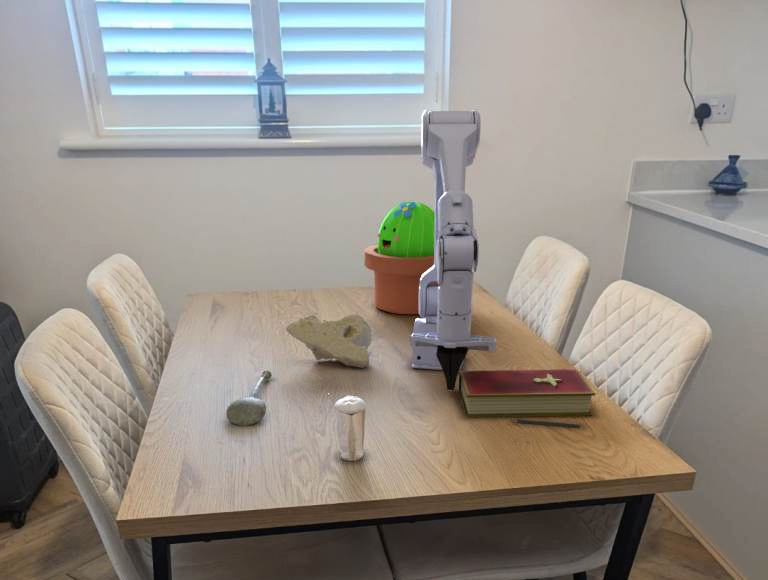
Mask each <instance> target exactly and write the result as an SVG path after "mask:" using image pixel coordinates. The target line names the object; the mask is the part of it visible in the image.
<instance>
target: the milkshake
mask: <svg viewBox="0 0 768 580" xmlns="http://www.w3.org/2000/svg"><path fill="white" fill-rule="evenodd" d="M327 396H328V398H329V399H330V401H331V403H332V405H333V406H334V413H335V420H336V427H337V436H338V444H339V452H340V457H341V458H342V459H343V460H344V461H348V462H357V461H359V460H362V458H363V456H364V447H365V426H366V414H367V404H366V402H365V401H364V400H363V399H362V398H359V397H358V396H356V395H355V396H352V395H346V396H345V397H343V398H339V399H338V400H336V402H335V403H334V401H333V399H332V398H331V395H330V393H328V394H327Z"/></svg>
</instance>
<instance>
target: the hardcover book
mask: <svg viewBox="0 0 768 580" xmlns="http://www.w3.org/2000/svg"><path fill="white" fill-rule="evenodd" d="M458 394H459V399H460V401H461V405H462V409H463V412H464V415H465V418H514V417H515V418H518V417H522V418H524V417H578V416H579V417H581V416H583V417H585V416H586V417H587V416H588V417H589V416H592V415H593V412H592V411H591V403H592V396H596V392H595V391H594V389H593V388H592V387H591V386H590V384H589V383H588V381H587V380H586V379H585V377H584V376H583V374H582V373H581V371H580V370H579V368H564V369H563V368H562V369H560V368H559V369H557V368H555V369H501V370H499V369H497V370H496V369H493V370H491V369H489V370H460V371H459V372H458Z"/></svg>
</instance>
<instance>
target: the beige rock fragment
mask: <svg viewBox="0 0 768 580" xmlns="http://www.w3.org/2000/svg"><path fill="white" fill-rule="evenodd" d="M316 315H319V313H318V312H314V313H313V314H311V315H309V316H306V317H300V318H299V319H298V320H297V321H294V322H291V323H289V324H288V325H287V326H286V327H285V330H286V332H287V333H288V334H289V335H291V337H292V338H294V339H296V340H298V341H300V342H301V343H302V344H304V345H305V346H306V348H307V349H309V350H310V351H311V352H312V355H313V357H314V358H315V360H316V361H321V360H325V361H327V360H330V359H335V360H336V361H339V362H340V363H342V364H343V365H345V366H346V367H355V368H360V369H361V368H366V367H368V366H369V364H370V354H369V352H368V349H369V348H370V346H371V343H372V341H373V337H372V335H373V333H372V326H371V325H370V324H369V322H368V321H367V320H366V319H365V318H364V317H362V315H360V314H359V313H352V314H348V315H347V316H344V317H343V318H341V319H335V320H328V319H323V320H322V321H321V320H320V318H319V317H318V316H316Z"/></svg>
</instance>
